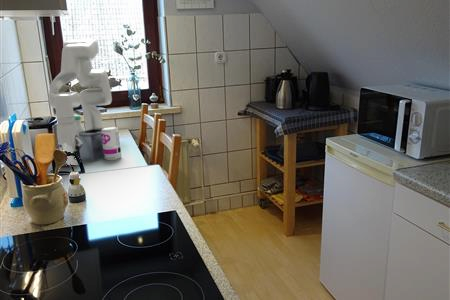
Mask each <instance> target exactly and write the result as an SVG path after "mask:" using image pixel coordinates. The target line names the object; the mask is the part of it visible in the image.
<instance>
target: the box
mask: <svg viewBox="0 0 450 300" xmlns="http://www.w3.org/2000/svg"><path fill="white" fill-rule="evenodd" d="M103 128H104V127H103ZM103 128H93V129H89V130H86V129H85V131H82V132H78V133H79V138H80V140H81V141H82V143H83V144H82V146H81V148H80V150H79V151H80V159H81V160H80V161H88V162H96V161H99V160H101V159H105V158H104V151H103V144H102V137H101V131H102V129H103Z"/></svg>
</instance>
